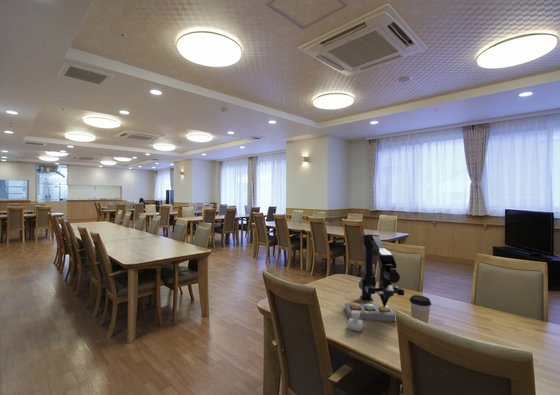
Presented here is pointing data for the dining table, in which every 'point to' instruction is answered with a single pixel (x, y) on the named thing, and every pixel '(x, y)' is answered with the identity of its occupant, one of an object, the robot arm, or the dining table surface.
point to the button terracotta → (355, 306)
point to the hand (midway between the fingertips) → (384, 306)
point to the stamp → (355, 321)
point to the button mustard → (384, 308)
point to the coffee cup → (420, 307)
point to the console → (371, 313)
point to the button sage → (369, 307)
